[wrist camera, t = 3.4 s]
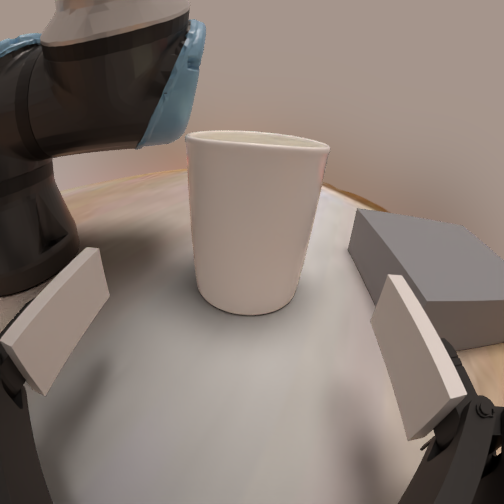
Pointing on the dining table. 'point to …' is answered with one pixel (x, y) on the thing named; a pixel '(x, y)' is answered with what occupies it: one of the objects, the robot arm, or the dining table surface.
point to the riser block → (435, 273)
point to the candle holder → (252, 215)
